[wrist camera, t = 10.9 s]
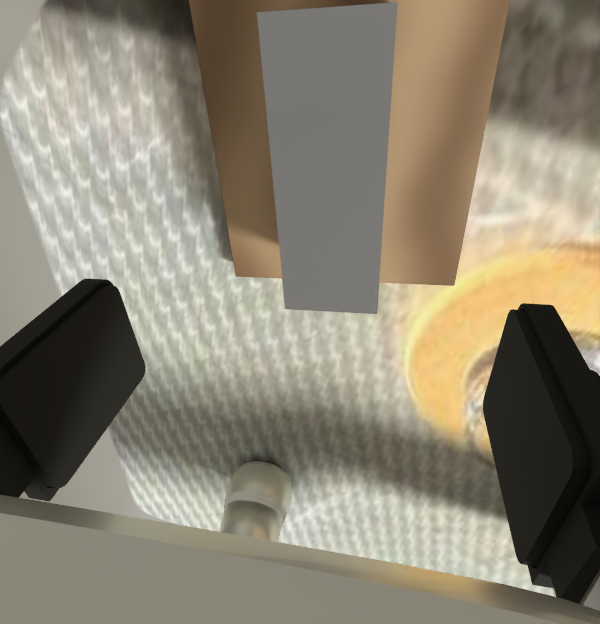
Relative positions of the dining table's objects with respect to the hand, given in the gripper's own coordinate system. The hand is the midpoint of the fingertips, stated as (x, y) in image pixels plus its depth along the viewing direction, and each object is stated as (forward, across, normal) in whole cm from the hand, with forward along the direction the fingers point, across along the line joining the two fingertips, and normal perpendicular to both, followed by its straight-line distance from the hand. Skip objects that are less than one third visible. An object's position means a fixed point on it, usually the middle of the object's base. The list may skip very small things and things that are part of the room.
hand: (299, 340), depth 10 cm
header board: (+16, +1, -1) cm, 16 cm away
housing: (+15, +1, -1) cm, 15 cm away
